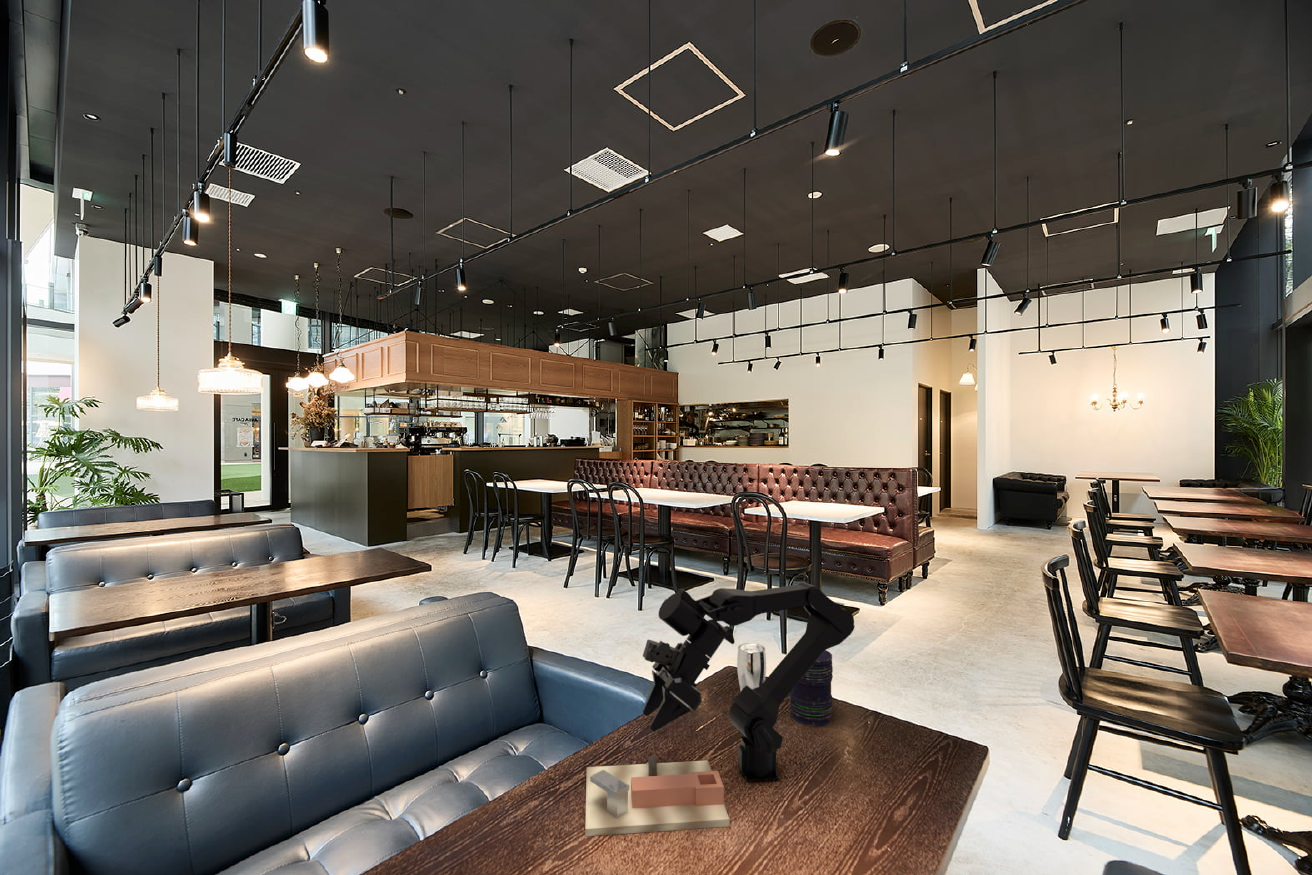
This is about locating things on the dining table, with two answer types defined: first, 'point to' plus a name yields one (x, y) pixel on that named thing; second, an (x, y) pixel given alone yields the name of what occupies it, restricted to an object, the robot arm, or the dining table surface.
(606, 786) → the block
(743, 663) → the beer glass
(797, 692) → the storage jar
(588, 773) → the board
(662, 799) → the link
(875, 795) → the dining table surface
